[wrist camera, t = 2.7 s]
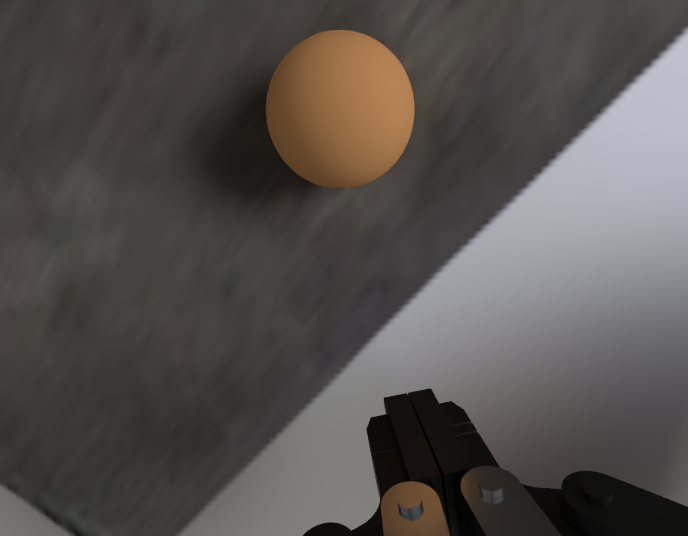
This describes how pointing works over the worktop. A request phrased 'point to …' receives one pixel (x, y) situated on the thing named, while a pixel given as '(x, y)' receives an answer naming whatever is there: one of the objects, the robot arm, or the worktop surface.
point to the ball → (340, 109)
